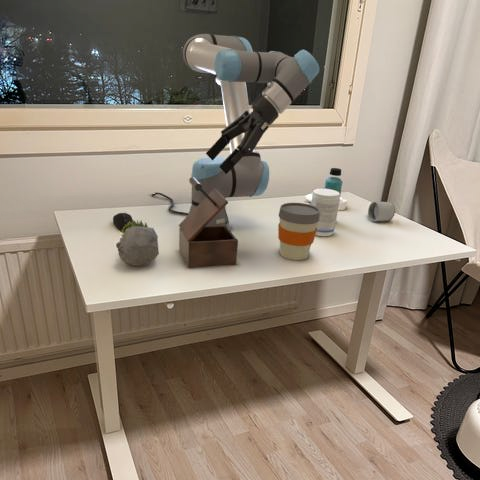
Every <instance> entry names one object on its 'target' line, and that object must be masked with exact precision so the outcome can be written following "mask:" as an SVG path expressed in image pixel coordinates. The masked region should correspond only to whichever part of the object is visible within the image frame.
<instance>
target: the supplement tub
mask: <svg viewBox="0 0 480 480" xmlns="http://www.w3.org/2000/svg"><path fill="white" fill-rule="evenodd" d="M312 193H313V194H312V201H311V202H310V205H312V206H315V207H317V208H318V209H319V210H320V218H319V221H318V223H317V226H316V227H317V231H316V234H315V236H317V237H330V236H332V235H334V233H335V230H336V223H337V217H338V212H339V210H338V206H339V198H340V196H341V195H340V194H341V193H339V192H338V191H335V190H331V189H325V188H315V189H313V191H312Z"/></svg>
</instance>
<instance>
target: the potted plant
mask: <svg viewBox="0 0 480 480" xmlns="http://www.w3.org/2000/svg"><path fill="white" fill-rule="evenodd" d="M127 223H128V222H127ZM147 223H148V222H144V223H143V221H142V220H140V221H139V219H136V220H134V219H133V218H132V223H131V222H130V221H129V223H128V224H125V226H124V227H123V229H122V230H120V233H121V234H120V236H121V237H120V238H119V241H118V242H116V243H115V244H116V245H115V246H116V248H117V251H118V257H119V260H121V261H122V262H123V263H126V264H127V265H131V266H135V267H142V266H143V267H144V266H147V265H149V264H151V263H153V262H154V260H155V259H156V258H157V257H158V256H159V255H160V251H159V236H158V234H157V232H156V230H155V229H154V227H150V226H149V227H148V224H147Z"/></svg>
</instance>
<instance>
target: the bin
mask: <svg viewBox="0 0 480 480" xmlns="http://www.w3.org/2000/svg"><path fill="white" fill-rule="evenodd" d="M178 230H179V232H178V233H179V234H178V235H179V237H178V238H179V241H178V242H179V244H178V245H179V246H178V247H179V250H178V252H179V254H180V255H181V257H182V259H183V261H184V262H185V264H186V266H187V269H195V268H196V269H197V268H211V267H212V268H213V267H224V266H237V262H238V261H237V260H238V245H239V239H238V238H237V237H236V236H235V235H234V234H233V233H232V232H231V230H230V228H229V229H228V228H227V227H226V225H225V226H205V227H204V228H203V229H202V230H201V231H200V232H199V233H198V234H197V235H196V236H195V237H194V239H193V240H192V241H191V242H189V241H188V240H187V238H186V236H185V235H184V233H183V232H182V230H181V228H180V227H179V229H178Z"/></svg>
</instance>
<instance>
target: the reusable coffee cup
mask: <svg viewBox="0 0 480 480" xmlns="http://www.w3.org/2000/svg"><path fill="white" fill-rule="evenodd" d="M278 217H279V223H278V231H277V232H278V235H277V237H278V240H279V254H280V256H281V257H282V258H285V259H287V260H291V261H302V260H306V259H307V258H308V257H309V253H310V251H311V246H312V245H313V243H314V240H315V237H316V235H315V234H316V231H317V227H316V226H317V223H318V221H319V218H320V210H319V209H318V208H317V207H315V206H312V205H311V204H308V203H303V202H286V203H282V204H281V205H280V207H279V211H278Z"/></svg>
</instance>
